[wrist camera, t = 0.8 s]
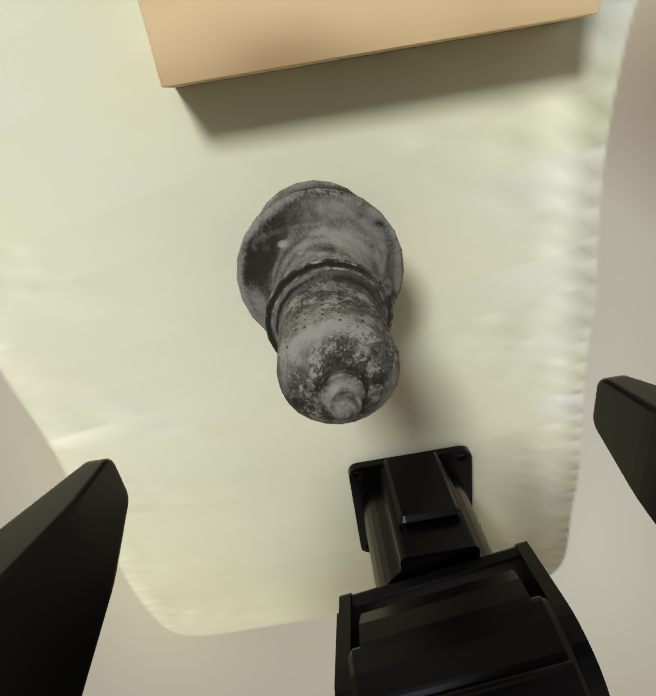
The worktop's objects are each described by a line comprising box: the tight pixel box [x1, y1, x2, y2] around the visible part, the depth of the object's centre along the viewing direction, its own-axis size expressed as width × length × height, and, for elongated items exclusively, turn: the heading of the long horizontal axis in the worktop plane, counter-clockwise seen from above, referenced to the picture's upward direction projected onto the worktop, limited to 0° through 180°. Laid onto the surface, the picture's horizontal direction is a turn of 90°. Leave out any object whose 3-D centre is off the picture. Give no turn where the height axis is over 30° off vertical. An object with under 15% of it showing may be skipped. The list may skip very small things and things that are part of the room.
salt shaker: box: [237, 180, 404, 424], centre depth 15 cm, size 6×6×12 cm
